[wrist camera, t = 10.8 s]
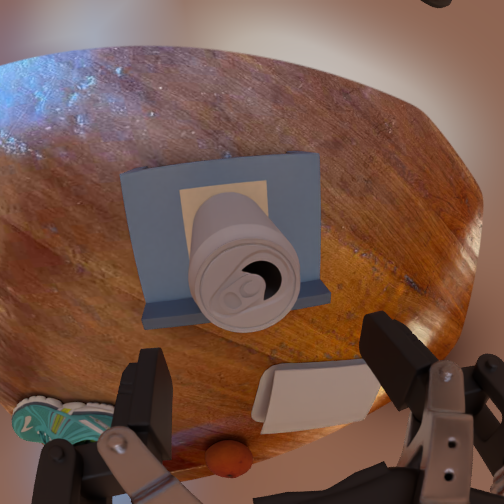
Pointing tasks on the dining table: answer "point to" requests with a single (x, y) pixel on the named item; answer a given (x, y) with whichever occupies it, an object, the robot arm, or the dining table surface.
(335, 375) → the book
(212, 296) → the beverage can
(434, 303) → the dining table surface
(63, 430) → the running shoe
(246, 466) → the fruit
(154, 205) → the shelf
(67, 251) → the dining table surface
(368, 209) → the dining table surface
